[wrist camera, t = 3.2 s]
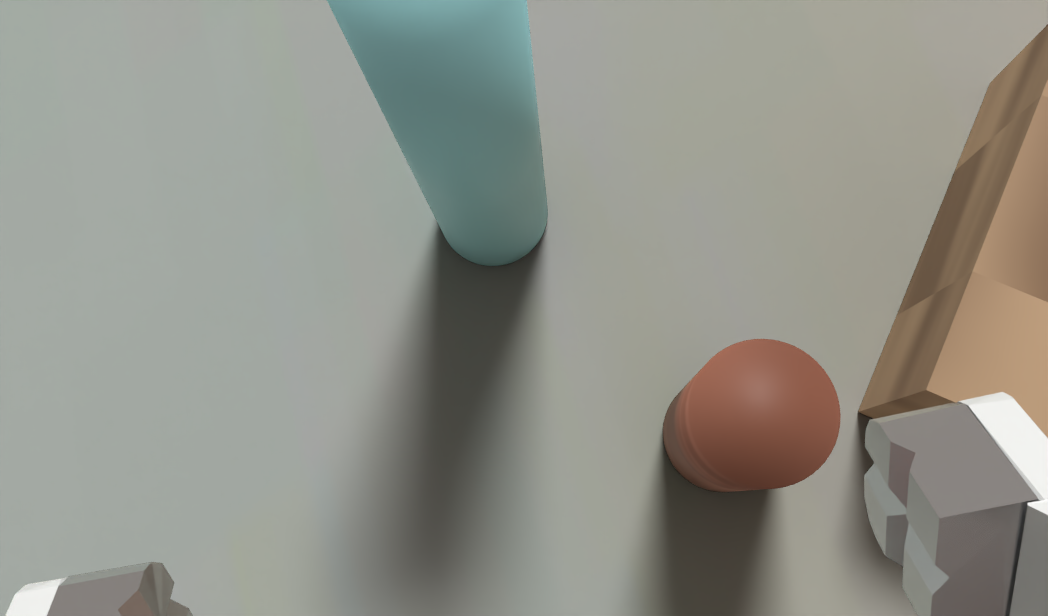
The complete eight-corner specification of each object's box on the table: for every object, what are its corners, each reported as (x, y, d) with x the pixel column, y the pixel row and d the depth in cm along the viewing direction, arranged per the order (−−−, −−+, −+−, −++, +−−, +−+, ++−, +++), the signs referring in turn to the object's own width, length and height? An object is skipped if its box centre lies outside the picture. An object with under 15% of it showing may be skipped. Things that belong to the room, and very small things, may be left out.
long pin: (421, 239, 27) (280, 0, 14) (468, 146, 27) (372, -170, 14) (519, 283, 26) (465, 77, 14) (565, 187, 27) (554, -99, 14)
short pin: (644, 461, 25) (665, 449, 19) (689, 358, 26) (723, 315, 20) (751, 511, 25) (807, 514, 19) (796, 405, 25) (862, 375, 19)
